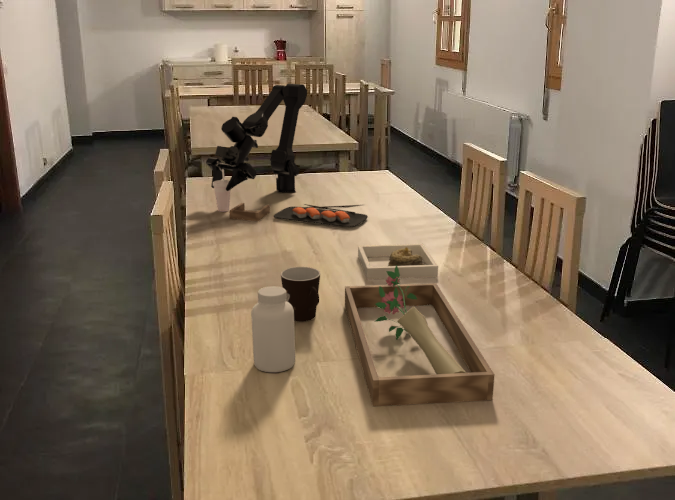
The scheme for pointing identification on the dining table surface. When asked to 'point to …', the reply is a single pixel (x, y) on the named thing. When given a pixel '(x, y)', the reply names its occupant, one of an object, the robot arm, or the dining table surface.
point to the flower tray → (420, 386)
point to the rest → (248, 213)
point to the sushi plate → (322, 215)
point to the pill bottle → (273, 331)
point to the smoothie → (222, 194)
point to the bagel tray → (404, 271)
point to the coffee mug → (302, 291)
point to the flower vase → (416, 327)
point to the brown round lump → (405, 258)
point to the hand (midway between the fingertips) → (219, 188)
